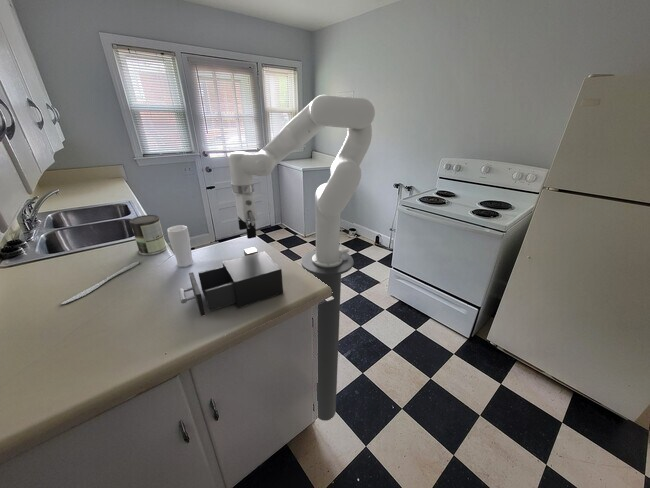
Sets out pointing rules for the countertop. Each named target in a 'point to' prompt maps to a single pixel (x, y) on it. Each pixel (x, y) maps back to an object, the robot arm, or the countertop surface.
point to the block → (250, 251)
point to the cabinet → (254, 278)
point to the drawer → (211, 289)
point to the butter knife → (99, 283)
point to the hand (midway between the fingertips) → (247, 233)
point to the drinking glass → (180, 244)
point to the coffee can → (148, 234)
